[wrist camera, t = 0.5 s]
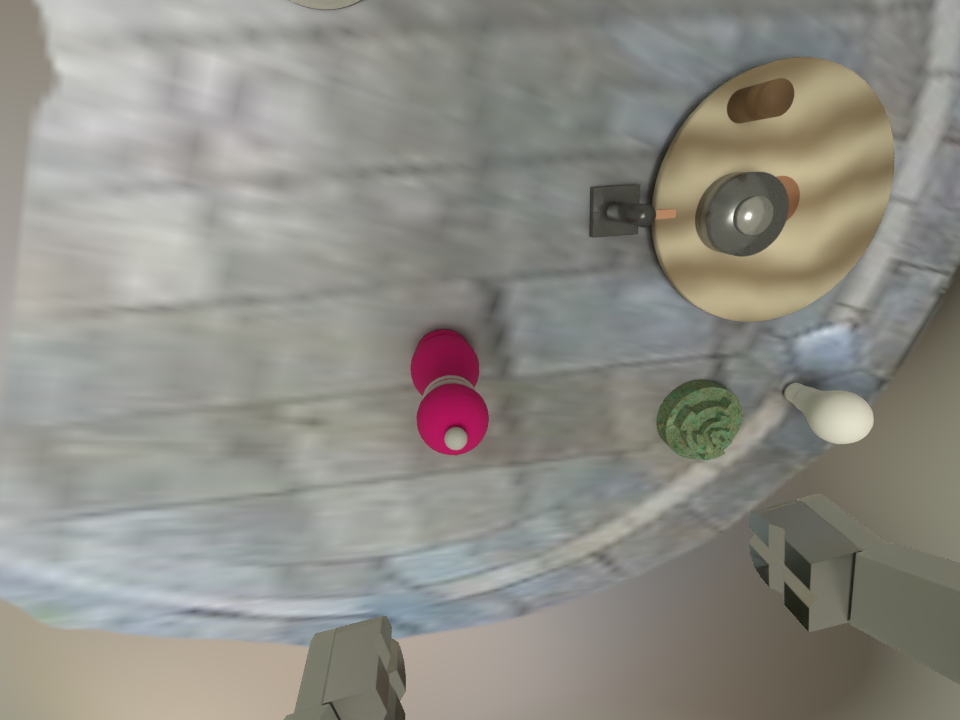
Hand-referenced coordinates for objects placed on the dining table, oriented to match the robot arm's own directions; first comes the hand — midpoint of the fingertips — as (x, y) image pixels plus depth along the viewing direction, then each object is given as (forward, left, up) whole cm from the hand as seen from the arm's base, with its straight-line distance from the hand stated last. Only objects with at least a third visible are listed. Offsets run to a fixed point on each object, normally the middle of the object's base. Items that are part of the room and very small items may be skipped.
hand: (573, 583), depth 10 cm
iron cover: (+2, +30, -40) cm, 50 cm away
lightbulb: (+27, +39, -44) cm, 65 cm away
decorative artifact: (+27, +26, -44) cm, 58 cm away
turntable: (+2, +35, -42) cm, 55 cm away
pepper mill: (+10, -3, -44) cm, 45 cm away
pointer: (-1, +18, -44) cm, 48 cm away
